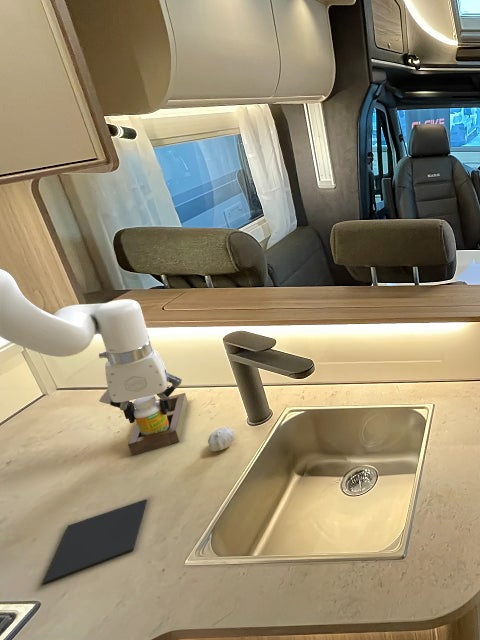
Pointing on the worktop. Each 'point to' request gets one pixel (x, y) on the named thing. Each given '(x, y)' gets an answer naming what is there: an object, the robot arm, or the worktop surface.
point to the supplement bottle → (149, 416)
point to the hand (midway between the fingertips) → (149, 414)
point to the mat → (97, 540)
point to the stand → (164, 437)
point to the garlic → (221, 439)
